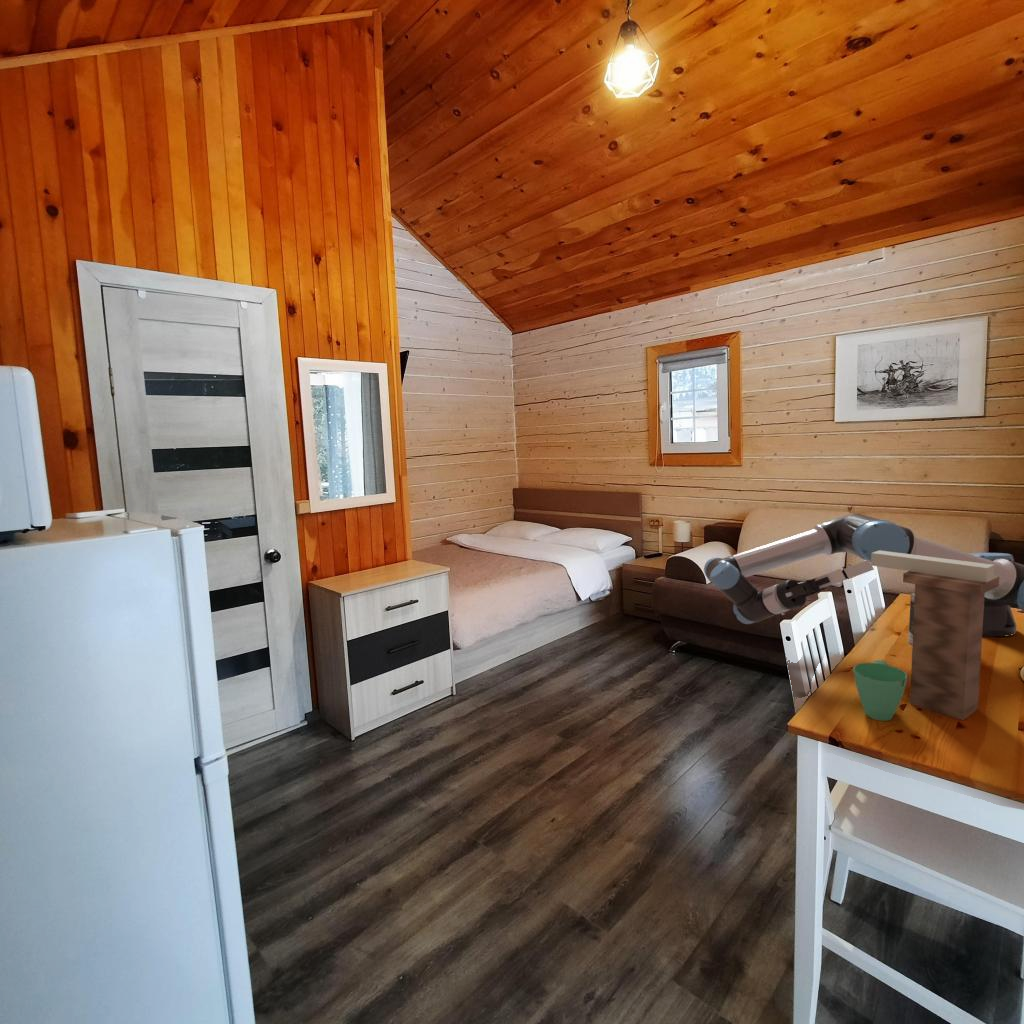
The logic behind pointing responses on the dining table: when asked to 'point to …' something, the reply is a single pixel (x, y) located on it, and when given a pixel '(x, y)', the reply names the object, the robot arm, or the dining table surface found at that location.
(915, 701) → the pedestal
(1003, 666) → the dining table surface
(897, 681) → the mug
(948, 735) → the dining table surface
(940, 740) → the dining table surface
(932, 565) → the stick
